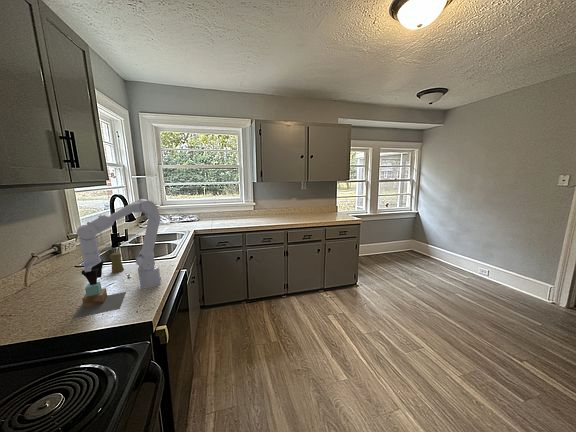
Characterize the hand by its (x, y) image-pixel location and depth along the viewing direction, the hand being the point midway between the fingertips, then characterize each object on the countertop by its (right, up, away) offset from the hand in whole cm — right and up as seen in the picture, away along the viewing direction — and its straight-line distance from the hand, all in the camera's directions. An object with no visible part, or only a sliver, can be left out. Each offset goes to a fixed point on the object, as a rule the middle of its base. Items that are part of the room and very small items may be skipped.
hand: (96, 280), depth 108 cm
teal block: (-1, -6, 0) cm, 6 cm away
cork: (-14, -4, +34) cm, 37 cm away
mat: (+4, -10, -2) cm, 11 cm away
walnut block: (-1, -9, +1) cm, 10 cm away
